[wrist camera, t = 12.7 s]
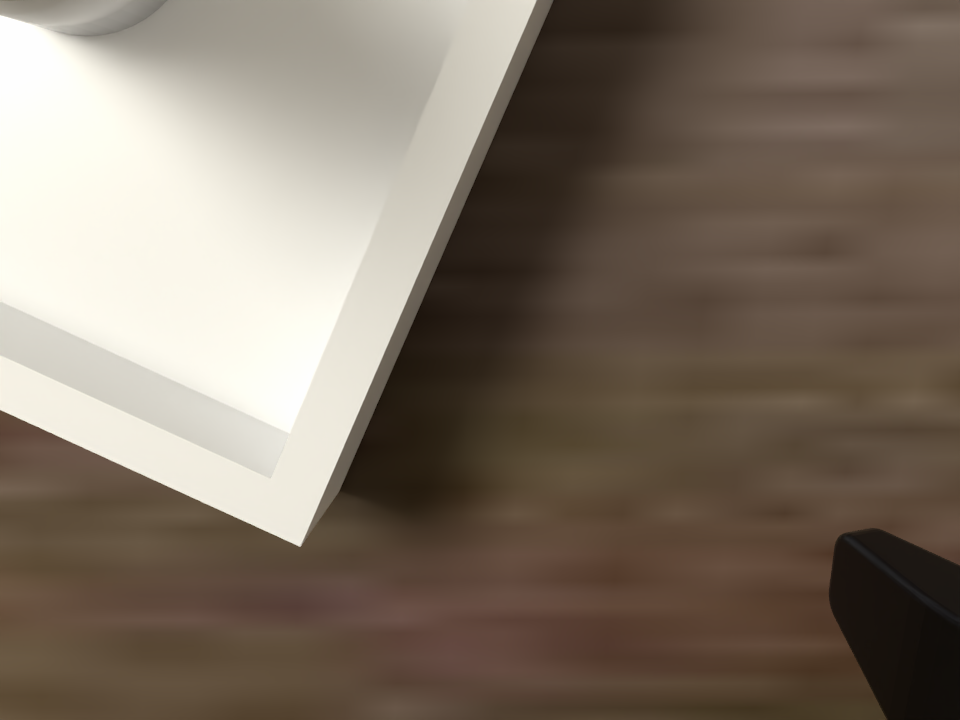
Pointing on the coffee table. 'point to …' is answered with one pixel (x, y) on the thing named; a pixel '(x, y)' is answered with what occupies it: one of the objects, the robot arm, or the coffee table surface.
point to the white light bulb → (80, 14)
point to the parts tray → (237, 228)
